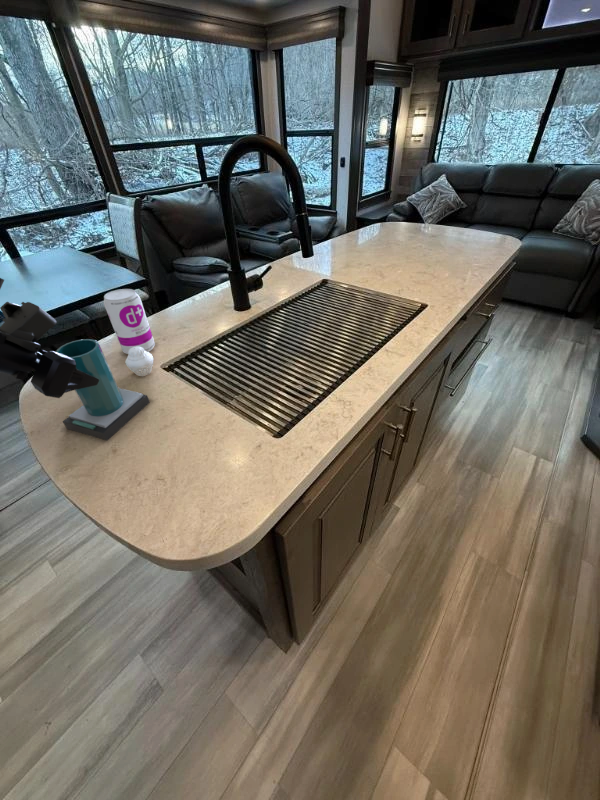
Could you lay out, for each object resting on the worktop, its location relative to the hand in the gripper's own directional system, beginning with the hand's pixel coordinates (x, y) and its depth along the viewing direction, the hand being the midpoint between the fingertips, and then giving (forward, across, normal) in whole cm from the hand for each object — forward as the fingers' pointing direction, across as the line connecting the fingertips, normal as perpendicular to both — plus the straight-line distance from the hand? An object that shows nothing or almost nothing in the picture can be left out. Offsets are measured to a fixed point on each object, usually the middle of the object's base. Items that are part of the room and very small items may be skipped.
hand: (83, 374), depth 60 cm
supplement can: (+22, +19, -7) cm, 30 cm away
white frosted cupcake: (+18, +8, -3) cm, 20 cm away
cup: (+6, 0, +5) cm, 8 cm away
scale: (+8, 0, +7) cm, 11 cm away
